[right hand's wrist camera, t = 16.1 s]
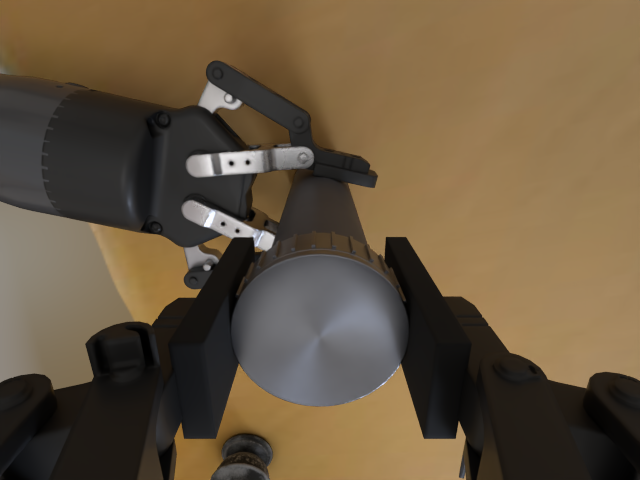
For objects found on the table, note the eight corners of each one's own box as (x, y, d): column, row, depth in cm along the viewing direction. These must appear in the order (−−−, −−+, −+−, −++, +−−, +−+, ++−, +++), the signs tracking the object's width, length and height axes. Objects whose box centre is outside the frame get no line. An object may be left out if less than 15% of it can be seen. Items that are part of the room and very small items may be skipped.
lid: (329, 395, 13) (330, 435, 12) (207, 315, 12) (190, 347, 11) (434, 296, 12) (452, 326, 10) (307, 194, 11) (305, 211, 9)
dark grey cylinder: (334, 148, 28) (361, 237, 10) (353, 198, 30) (406, 353, 12) (285, 169, 29) (226, 287, 11) (305, 216, 30) (285, 392, 12)
